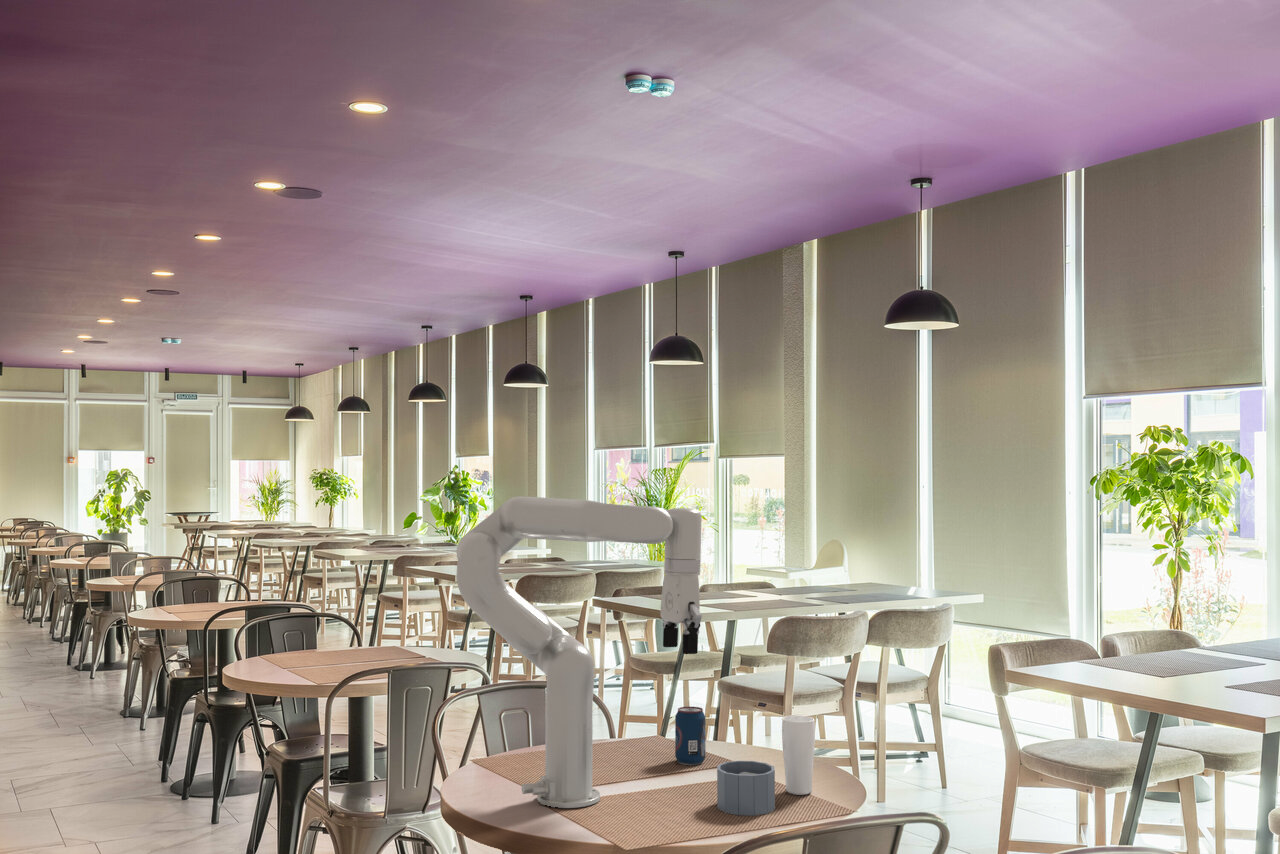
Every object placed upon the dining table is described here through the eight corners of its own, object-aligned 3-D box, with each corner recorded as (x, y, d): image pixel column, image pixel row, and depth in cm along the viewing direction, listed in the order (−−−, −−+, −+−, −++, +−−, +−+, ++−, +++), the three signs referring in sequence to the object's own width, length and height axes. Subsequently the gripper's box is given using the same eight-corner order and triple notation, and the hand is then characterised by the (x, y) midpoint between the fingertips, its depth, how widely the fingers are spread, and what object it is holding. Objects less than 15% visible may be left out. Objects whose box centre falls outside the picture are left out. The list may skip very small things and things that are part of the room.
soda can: (673, 758, 245) (673, 706, 246) (702, 757, 246) (702, 705, 246) (677, 766, 238) (677, 712, 239) (708, 765, 239) (707, 711, 239)
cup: (735, 818, 200) (735, 778, 201) (707, 802, 210) (707, 764, 211) (785, 810, 205) (785, 771, 205) (755, 795, 215) (755, 758, 215)
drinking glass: (819, 790, 219) (818, 716, 220) (810, 798, 213) (809, 723, 214) (787, 786, 222) (787, 713, 223) (778, 794, 216) (777, 720, 217)
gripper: (649, 564, 227) (647, 645, 226) (683, 570, 211) (680, 657, 210) (681, 564, 230) (678, 644, 229) (717, 570, 214) (714, 656, 213)
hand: (679, 650), depth 219 cm, fingers open, 9 cm apart
